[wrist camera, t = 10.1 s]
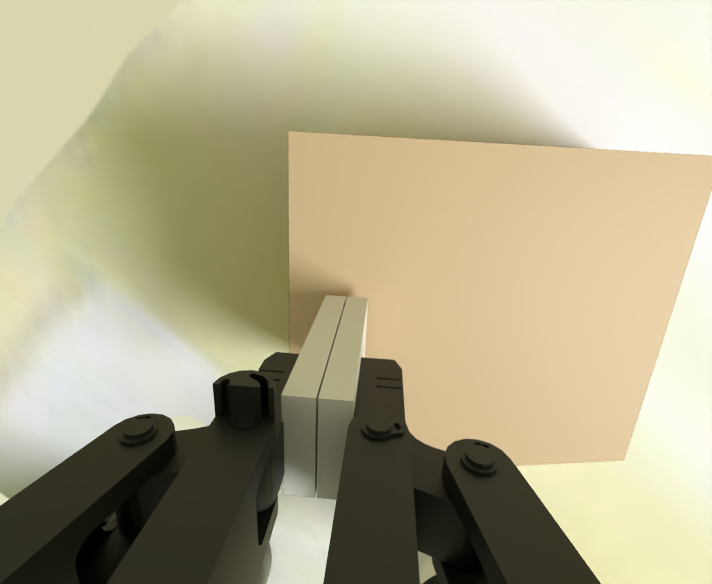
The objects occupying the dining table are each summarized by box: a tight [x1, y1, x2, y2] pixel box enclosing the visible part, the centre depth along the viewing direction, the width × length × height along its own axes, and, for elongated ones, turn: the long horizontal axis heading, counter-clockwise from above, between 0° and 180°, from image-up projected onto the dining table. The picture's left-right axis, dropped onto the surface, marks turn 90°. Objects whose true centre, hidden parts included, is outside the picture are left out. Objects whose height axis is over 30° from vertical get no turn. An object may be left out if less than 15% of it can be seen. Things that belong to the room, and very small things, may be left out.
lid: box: [288, 131, 712, 466], centre depth 17 cm, size 16×14×1 cm
